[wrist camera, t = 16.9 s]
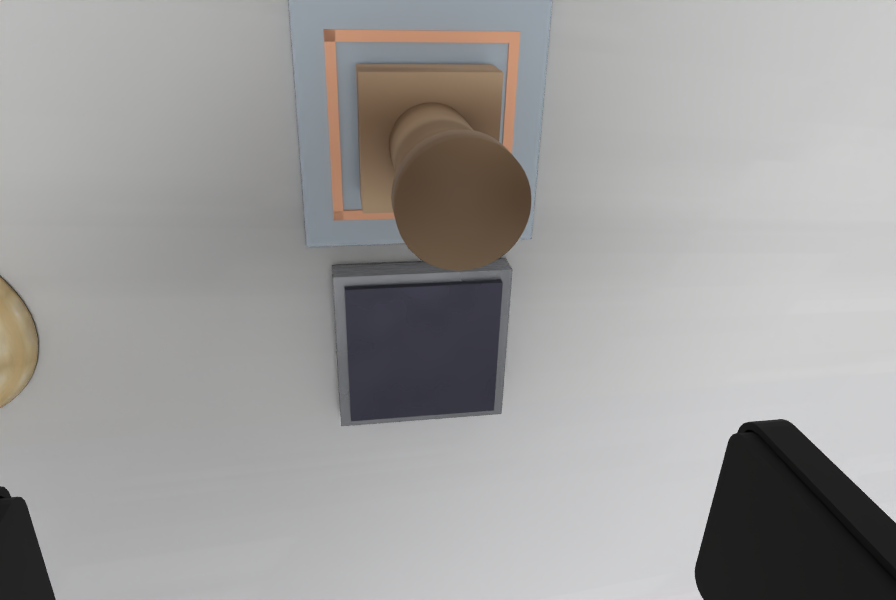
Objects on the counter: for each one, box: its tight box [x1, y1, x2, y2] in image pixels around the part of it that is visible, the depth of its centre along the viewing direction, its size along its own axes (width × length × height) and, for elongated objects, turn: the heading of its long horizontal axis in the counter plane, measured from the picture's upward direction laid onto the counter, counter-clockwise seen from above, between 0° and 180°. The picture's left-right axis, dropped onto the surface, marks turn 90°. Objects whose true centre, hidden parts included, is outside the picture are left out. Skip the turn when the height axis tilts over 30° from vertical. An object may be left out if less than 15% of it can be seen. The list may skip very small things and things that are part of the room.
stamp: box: [356, 64, 531, 271], centre depth 23 cm, size 5×5×9 cm
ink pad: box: [332, 258, 512, 426], centre depth 31 cm, size 8×8×2 cm
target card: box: [288, 0, 552, 247], centre depth 27 cm, size 10×10×1 cm
